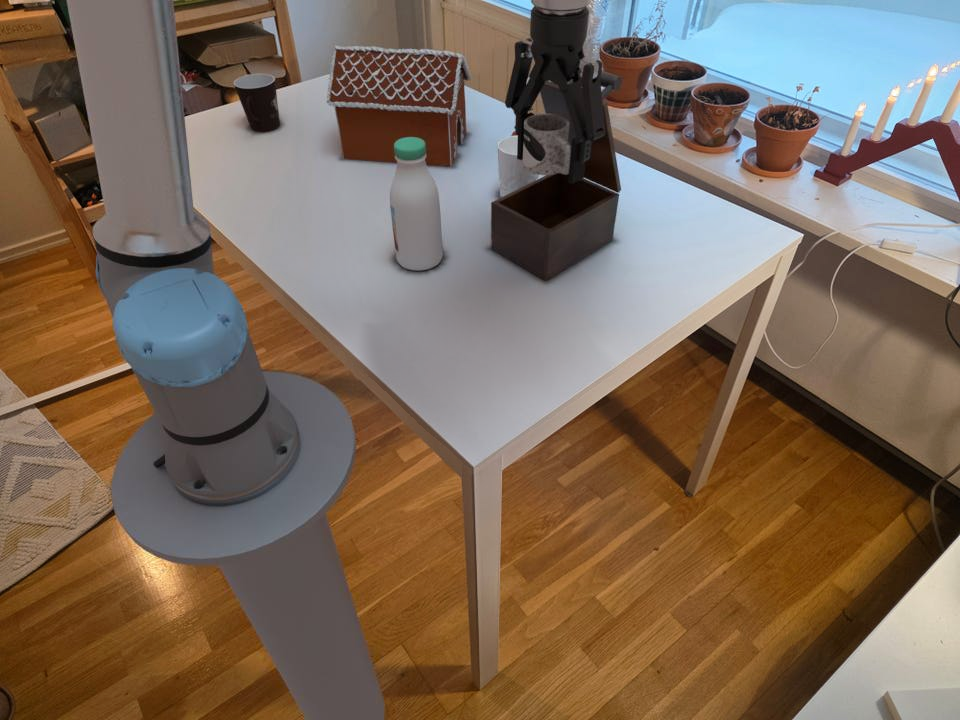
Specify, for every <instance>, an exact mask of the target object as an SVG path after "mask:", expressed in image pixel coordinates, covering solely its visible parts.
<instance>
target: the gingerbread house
mask: <svg viewBox="0 0 960 720" xmlns="http://www.w3.org/2000/svg"><path fill="white" fill-rule="evenodd" d="M332 54H333V55H332V56H331V61H330V62H331V63H330V66H329V67H330V69H329V70H330V73H329V77H328V85H327V86H328V87H327V92H326V99H325V102H326V103H327V105H328V106H331V107H334V112H335V118H336V123H337V129H338V135H339V143H340V147H341V153H342V159H343V160H355V161H357V160H358V161H370V162H381V163H382V162H383V163H384V162H385V163H396V164H397V160H396V159H395V152H394V143H395V142H396V141H397V140H399V139H401V138H406V137H416V138H420V139H422V140H423V141H424V142H425V144H426V158H425V162H426V165H427V166H436V167H450V168H452V167H453V165H454V163H455V161H456V159H457V156H458V145H461V146H462V145H463V143H464V140H465V138H466V136H467V116H466V115H467V112H466V108H467V107H466V94H465V92H466V91H465V81H467V82H469V81H470V80H472V78H471V77H472V75H471V72H470V69H469V65H468V63H467V61H466V58H465V56H464V55H463V54H462V53H461V54H460V53H459V52H457V53H455V52H454V51H452V50H451V51H449V50H439V49H438V50H435V49H429V48H420V49H418V48H414V49H413V48H402V49H401V48H399V49H396V48H391V47H390V48H384V47H380V46H375V45H373V46H371V45H370V46H368V45H367V46H363V45H354V46H350V45H348V46H347V45H346V46H343V45H342V46H341V45H338V44H337V45H335V46H334V50H333V53H332Z"/></svg>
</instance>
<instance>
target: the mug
mask: <svg viewBox="0 0 960 720" xmlns="http://www.w3.org/2000/svg"><path fill="white" fill-rule="evenodd" d="M568 134H569V121H568V120H567V119H566V118H565V117H563V116H560V115H556V114H549V113H545V112H544V113H537V114H534V115H532V116H530V117H528V118H526V119H525V121H524V140H523V168H524V169H525V170H527V171H528V172H530V173H533V174H537V175H539V176H546V175H553V174H557V173H561V174H565V175H567V174H569V166H570V155H571V145H570V143H569V142H568Z"/></svg>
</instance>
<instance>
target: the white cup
mask: <svg viewBox="0 0 960 720" xmlns="http://www.w3.org/2000/svg"><path fill="white" fill-rule="evenodd" d="M517 144H518V136H511V135H509V136H506V137H504V138H502V139H500V140H498V142H497V144H496V145H497V167H498V170H497V171H498V182H499V196H500V198H501V197H503V196H505V195H507V194H509V193H511V192H513V191H515V190H517V189H520V188H522V187H524V186H526V185H528V184H530V183H532V182H534V181H536V180H538V179H539V177H540V175H537V174H533V173H530V172H528V171H527V170H525V169H524V168H523V159H522V160H519V159H517Z"/></svg>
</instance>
